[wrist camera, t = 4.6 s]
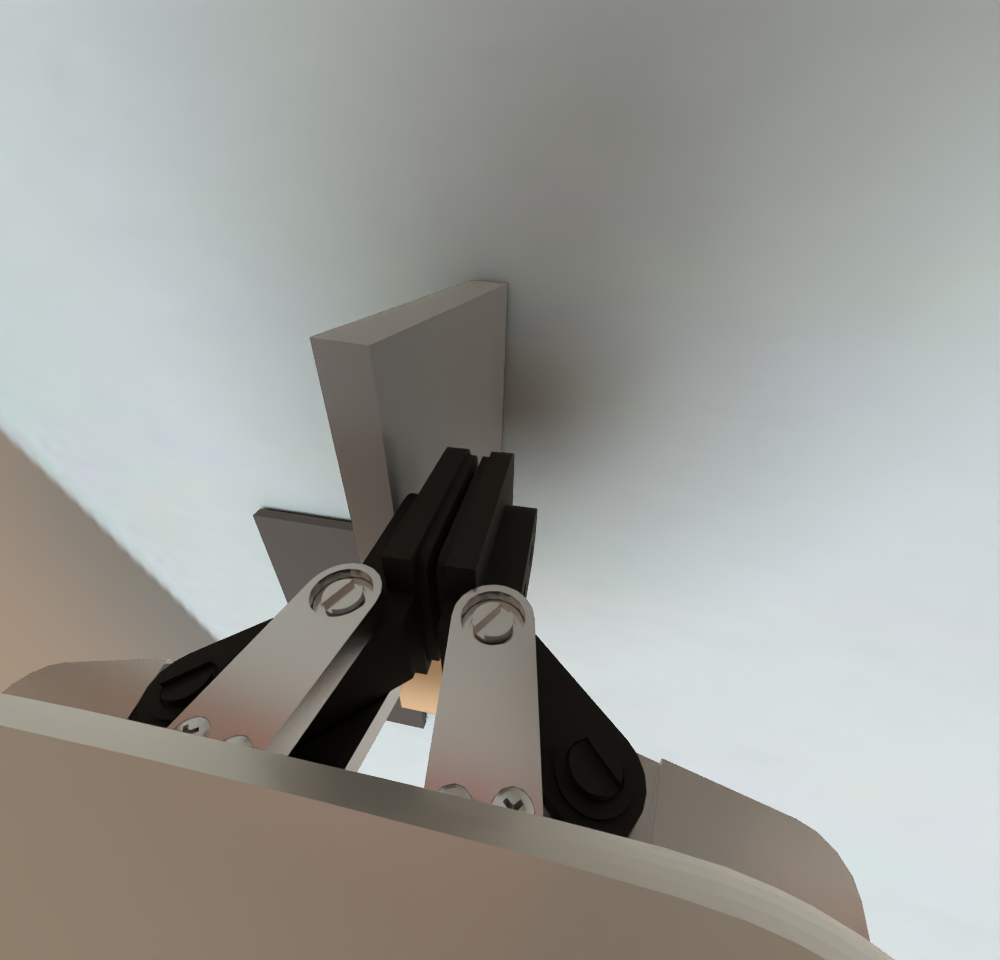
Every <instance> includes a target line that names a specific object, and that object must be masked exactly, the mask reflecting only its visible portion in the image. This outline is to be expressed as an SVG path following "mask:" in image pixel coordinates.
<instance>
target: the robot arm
mask: <svg viewBox="0 0 1000 960" xmlns="http://www.w3.org/2000/svg"><path fill="white" fill-rule="evenodd" d="M513 478H514V454H512V453H502V452H493V451H492V452H491V454H490V456H489V457H486V456H483V457H482V459H481V461H480V463H479V465H478V457H477V455H471V452H470V449H464V448H455V447H447V448H446V449H445V451H444V453H443V454H442V456H441V458H440V459H439V461H438V462H437V464H436V466H435V467H434V469H433V471H432V472H431V474H430V476H429V477H428V479H427V481H426V482H425V484H424V485H423V487H422V489H421V490H420V492H419V494H416V493H410V494H408V495H407V496H406V497H405V499H404V500H403V502H402V503H401V505H400V506H399V508H398V510H397V511H396V513H395V514H394V516H393V517H392V519H391V520H390V522H389V523H388V525H387V527H386V528H385V530H384V531H383V533H382V534H381V536H380V537H379V539H378V540H377V542H376V544H375V545H374V547H373V548H372V550H371V551H370V553H369V554H368V556H367V557H366V559H365V561H364V562H363V564H357V563H349V564H341V565H338V566H334V567H331V568H329V569H327V570H325V571H323V572H321V573H319V574H318V575H317V576H315V577H314V578H313V579H312V580H311V581H309V582H308V583H307V584H306V585H305V587H304V588H303V589H302V590H301V591H300V592H299V593H298V594H297V595H296V596H295V597H294V598H293V599H292V600H291V601H290V602H289V603H288V604H287V605H286V606H285V607H284V608H283V609H282V610H281V611H280V612H279V613H278V614H277V615H276V616H275V617H274V618H272V619H270V620H267V621H265V622H262V623H260V624H258V625H255V626H253V627H251V628H248V629H246V630H244V631H241V632H239V633H237V634H234V635H232V636H230V637H227V638H225V639H223V640H220V641H218V642H216V643H213V644H211V645H208V646H206V647H204V648H201V649H199V650H197V651H195V652H192V653H190V654H188V655H186V656H184V657H182V658H181V659H178V660H177V661H175V662H174V663H172V662H171V661H170V660H169V658H156V659H132V660H113V661H112V660H111V661H90V662H89V661H88V662H65V663H60V664H55V665H50V666H47V667H44V668H42V669H39V670H37V671H34V672H32V673H30V674H28V675H27V676H25V677H24V678H22V679H20V680H18V681H17V682H15V683H13V684H12V685H11V686H10V687H8V688H7V689H6V690H5V691H4V692H2V693H0V960H894V959H893V958H892V957H890V956H889V955H887V954H886V953H885V952H883V951H882V950H880V949H879V948H878V947H876V946H875V945H874V944H872V943H871V942H870V939H869V934H868V929H867V925H866V920H865V915H864V910H863V905H862V901H861V898H860V896H859V893H858V890H857V887H856V884H855V882H854V879H853V876H852V875H851V873H850V872H849V870H848V868H847V867H846V865H845V864H844V862H843V861H842V859H841V858H840V856H839V855H838V853H837V852H836V851H835V850H834V849H833V848H832V847H831V846H830V845H829V844H828V843H827V841H826V840H825V839H824V838H823V837H822V836H821V835H820V834H819V833H818V832H816V831H815V830H813V829H812V828H810V827H808V826H807V825H805V824H804V823H802V822H800V821H799V820H797V819H795V818H793V817H791V816H789V815H786V814H784V813H782V812H780V811H778V810H775V809H773V808H771V807H769V806H766V805H764V804H762V803H760V802H758V801H755V800H753V799H751V798H749V797H747V796H744V795H742V794H740V793H738V792H735V791H733V790H731V789H729V788H727V787H724V786H722V785H720V784H718V783H715V782H713V781H711V780H709V779H707V778H704V777H702V776H700V775H698V774H696V773H693V772H691V771H689V770H687V769H684V768H682V767H680V766H678V765H676V764H673V763H671V762H669V761H667V760H665V759H661V761H660V763H657V762H655V761H653V760H651V759H649V758H646V757H644V756H642V755H640V754H638V753H636V752H635V751H634V749H633V748H632V746H631V745H630V743H629V742H628V740H627V739H626V738H625V737H624V736H623V735H622V733H621V732H620V731H619V730H618V729H617V728H616V726H615V725H614V724H613V723H612V722H611V721H610V720H609V718H608V717H607V716H606V715H605V714H604V713H603V712H602V710H601V709H600V708H599V707H598V706H597V705H596V703H595V702H594V701H593V700H592V699H591V698H590V697H589V695H588V694H587V693H586V692H585V691H584V690H583V688H582V687H581V686H580V685H579V684H578V683H577V682H576V680H575V679H574V678H573V677H572V676H571V675H570V673H569V672H568V671H567V670H566V669H565V668H564V667H563V665H562V664H561V663H560V662H559V661H558V660H557V659H556V657H555V656H554V655H553V654H552V653H551V652H550V650H549V649H548V648H547V647H546V646H545V645H544V644H543V642H542V641H541V640H540V639H539V638H538V637H537V635H536V634H535V618H534V613H533V609H532V606H531V605H530V603H529V602H528V600H527V599H526V596H527V590H528V584H529V578H530V572H531V566H532V559H533V551H534V543H535V533H536V522H537V508H528V507H520V506H512V502H513ZM440 659H441V667H442V679H441V686H440V692H439V698H438V704H437V711H436V717H435V723H434V729H433V736H432V742H431V748H430V754H429V761H428V767H427V773H426V779H425V786H424V788H421V787H417V786H412V785H408V784H404V783H400V782H396V781H391V780H387V779H383V778H379V777H374V776H370V775H366V774H361V773H357V771H358V770H359V768H360V766H361V764H362V762H363V761H364V759H365V757H366V755H367V753H368V752H369V750H370V748H371V746H372V744H373V743H374V741H375V739H376V737H377V735H378V734H379V732H380V730H381V728H382V726H383V725H384V723H385V721H386V719H387V717H388V716H389V714H390V712H391V710H392V708H393V707H394V705H395V703H396V701H397V699H398V697H399V695H400V692H401V689H402V684H404V683H406V682H407V681H409V680H411V679H413V677H414V675H415V673H419V674H425V675H427V673H428V671H429V668H430V665H431V662H432V660H434V661H439V660H440Z"/></svg>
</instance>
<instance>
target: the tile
mask: <svg viewBox="0 0 1000 960" xmlns="http://www.w3.org/2000/svg"><path fill="white" fill-rule="evenodd" d="M507 285H508V284H507V283H496V282H485V281H473V280H471V281H469V282H466V283H463V284H460V285H457V286H454V287H451V288H449V289H446V290H443V291H440V292H437V293H434V294H431V295H429V296H426V297H423V298H420V299H417V300H414V301H411V302H409V303H406V304H403V305H400V306H397V307H394V308H392V309H389V310H386V311H383V312H380V313H377V314H374V315H372V316H369V317H366V318H363V319H360V320H357V321H354V322H352V323H349V324H346V325H343V326H340V327H337V328H335V329H332V330H329V331H326V332H323V333H320V334H317V335H315V336H312V337H310V341H311V345H312V349H313V354H314V358H315V363H316V367H317V371H318V376H319V380H320V385H321V389H322V393H323V398H324V402H325V407H326V411H327V416H328V420H329V424H330V429H331V433H332V438H333V442H334V446H335V451H336V455H337V460H338V464H339V468H340V473H341V477H342V482H343V486H344V491H345V495H346V499H347V504H348V508H349V513H350V517H351V521H352V526H353V530H354V535H355V539H356V543H357V548H358V552H359V557H360V561H361V564H363V562H364V561H365V559H366V557H367V556H368V554H369V553H370V551H371V550H372V548H373V547H374V545H375V544H376V542H377V540H378V539H379V537H380V536H381V534H382V533H383V531H384V530H385V528H386V527H387V525H388V523H389V522H390V520H391V519H392V517H393V516H394V514H395V513H396V511H397V510H398V508H399V506H400V505H401V503H402V502H403V500H404V499H405V497H406V496H407V495H408V494H410V493H416V494H419V492H420V490H421V489H422V487H423V485H424V484H425V482H426V481H427V479H428V477H429V476H430V474H431V472H432V471H433V469H434V467H435V466H436V464H437V462H438V461H439V459H440V458H441V456H442V454H443V453H444V451H445V449H446V448H447V447H455V448H464V449H470V452H471V455H477V457H478V465H479V463H480V461H481V459H482V457H483V456H486V457H489V456H490V454H491V452H492V451H493V452H501V450H502V423H503V395H504V367H505V340H506V312H507Z"/></svg>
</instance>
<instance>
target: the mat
mask: <svg viewBox="0 0 1000 960" xmlns="http://www.w3.org/2000/svg"><path fill="white" fill-rule="evenodd" d="M253 517H254V520H255V522H256V525H257V527H258V530H259V532H260V535H261V537H262V540H263V542H264V545H265V547H266V550H267V552H268V555H269V557H270V560H271V562H272V565H273V567H274V570H275V572H276V575H277V577H278V580H279V582H280V585H281V587H282V590H283V593H284V595H285V598H286V600H287V603H289V602H290V601H291V600H292V599H293V598H294V597H295V596H296V595H297V594H298V593H299V592H300V591H301V590H302V589H303V588H304V587H305V585H306V584H307V583H308V582H309V581H311V580H312V579H313V578H314V577H315V576H317V575H318V574H319V573H321V572H323V571H325V570H327V569H329V568H331V567H334V566H338V565H341V564H349V563H357V564H361V561H360V557H359V552H358V548H357V543H356V539H355V535H354V530H353V526H352V523H351V522H344V521H338V520H331V519H325V518H318V517H311V516H305V515H298V514H292V513H285V512H278V511H272V510H265V509H260V510H258V511H257V512H256V513H255V514H254V515H253ZM386 720H387V721H391V722H396V723H400V724H405V725H410V726H414V727H419V728H423V729H424V726H425V723H426V715H425V712H422V711H417V710H413V709H408V708H403V707H402V706H401V701H400V696H399V697H398V699H397V701H396V703H395V705H394V707H393V708H392V710H391V712H390V714H389V716H388V717H387V719H386Z"/></svg>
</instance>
